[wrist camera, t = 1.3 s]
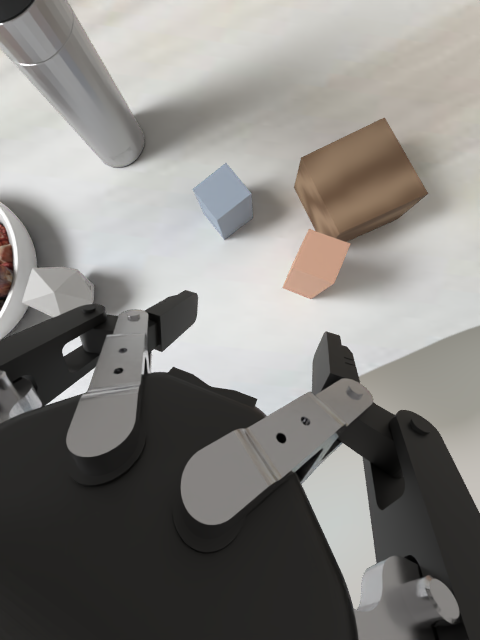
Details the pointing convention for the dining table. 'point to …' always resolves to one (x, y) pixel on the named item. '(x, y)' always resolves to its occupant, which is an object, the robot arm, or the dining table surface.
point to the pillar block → (316, 264)
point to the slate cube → (225, 201)
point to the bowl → (13, 268)
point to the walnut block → (358, 183)
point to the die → (57, 290)
